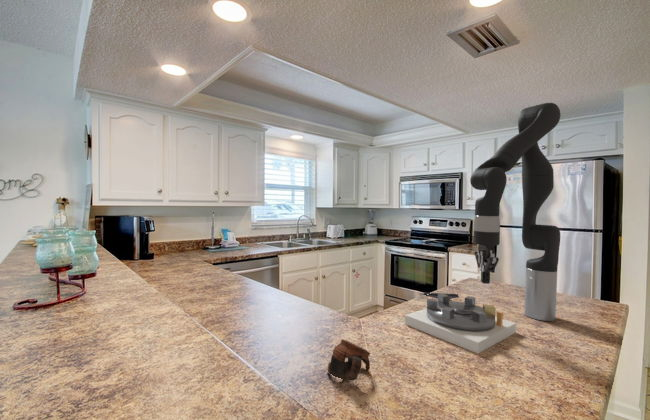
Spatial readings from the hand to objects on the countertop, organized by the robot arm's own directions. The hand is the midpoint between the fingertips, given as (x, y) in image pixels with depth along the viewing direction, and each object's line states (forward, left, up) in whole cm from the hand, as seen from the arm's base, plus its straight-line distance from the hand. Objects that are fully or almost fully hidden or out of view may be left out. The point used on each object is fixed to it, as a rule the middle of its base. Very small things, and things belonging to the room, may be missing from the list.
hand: (485, 282), depth 99 cm
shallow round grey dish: (+8, -4, -12) cm, 15 cm away
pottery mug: (+55, -4, -15) cm, 57 cm away
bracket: (-15, -23, -15) cm, 32 cm away
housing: (+8, -4, -15) cm, 17 cm away
